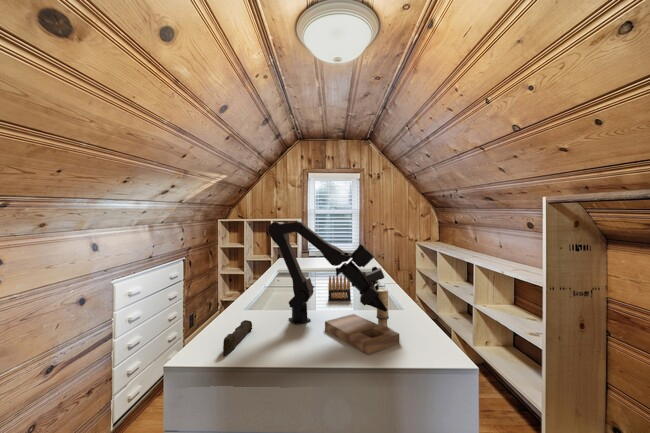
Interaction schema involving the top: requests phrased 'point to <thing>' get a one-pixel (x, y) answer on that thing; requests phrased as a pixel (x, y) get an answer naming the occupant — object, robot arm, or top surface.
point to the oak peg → (381, 314)
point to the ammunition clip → (339, 290)
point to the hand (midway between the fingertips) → (386, 307)
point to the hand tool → (236, 336)
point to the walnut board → (362, 333)
